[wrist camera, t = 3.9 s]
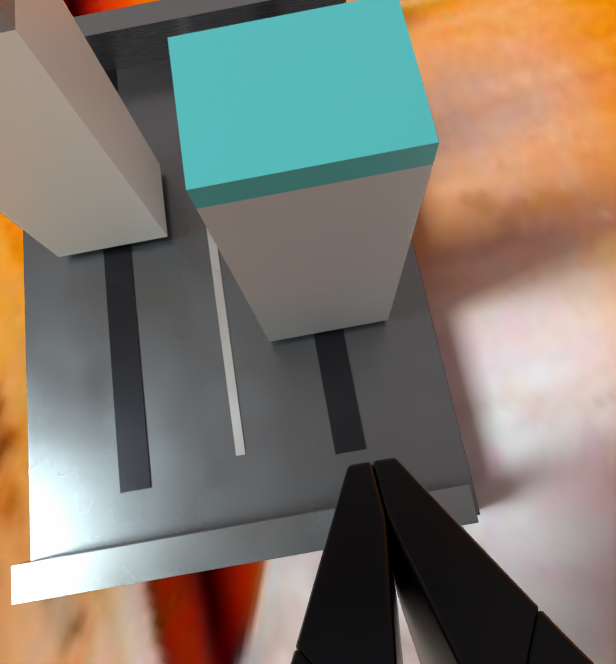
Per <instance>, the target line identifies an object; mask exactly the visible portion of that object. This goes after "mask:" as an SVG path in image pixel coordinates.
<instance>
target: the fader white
mask: <svg viewBox="0 0 616 664" xmlns="http://www.w3.org/2000/svg"><path fill="white" fill-rule="evenodd" d="M0 213H2V214H3V215H4V216H6V217H7V218H8V219H10V220H11V221H12V222H13V223H15V224H16V225H17V226H19V227H20V228H21V229H23V230H24V231H25V232H26V233H28V234H29V235H30V236H32V237H33V238H34V239H36V240H37V241H38V242H40V243H41V244H42V245H43V246H45V247H46V248H47V249H49V250H50V251H51V252H53V253H54V254H55V255H57V256H58V257H62V256H67V255H72V254H78V253H83V252H88V251H94V250H99V249H104V248H110V247H115V246H120V245H126V244H131V243H136V242H142V241H147V240H152V239H158V238H163V237H168V236H167V226H166V217H165V208H164V198H163V189H162V180H161V170H160V164H159V162H158V161H157V159H156V157H155V155H154V154H153V152H152V150H151V149H150V147H149V145H148V144H147V142H146V140H145V138H144V137H143V135H142V133H141V132H140V130H139V128H138V127H137V125H136V123H135V122H134V120H133V118H132V116H131V115H130V113H129V111H128V110H127V108H126V106H125V105H124V103H123V101H122V100H121V98H120V96H119V94H118V93H117V91H116V89H115V88H114V86H113V84H112V83H111V81H110V79H109V77H108V76H107V74H106V72H105V71H104V69H103V67H102V66H101V64H100V62H99V61H98V59H97V57H96V55H95V54H94V52H93V50H92V49H91V47H90V45H89V44H88V42H87V40H86V39H85V37H84V35H83V33H82V32H81V30H80V28H79V27H78V25H77V23H76V22H75V20H74V18H73V16H72V15H71V13H70V11H69V10H68V8H67V6H66V5H65V3H64V1H63V0H0Z"/></svg>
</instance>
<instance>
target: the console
mask: <svg viewBox="0 0 616 664" xmlns="http://www.w3.org/2000/svg"><path fill="white" fill-rule="evenodd" d="M343 3H346V0H159V1H154V2H149V3H144V4H139V5H134V6H129V7H124V8H119V9H113V10H108V11H103V12H98V13H93V14H88V15H83V16H78V17H73V18H74V20H75V22H76V23H77V25H78V27H79V28H80V30H81V32H82V33H83V35H84V37H85V39H86V40H87V42H88V44H89V45H90V47H91V49H92V50H93V52H94V54H95V55H96V57H97V59H98V61H99V62H100V64H101V66H102V67H103V69H104V71H105V72H106V74H107V76H108V77H109V79H110V81H111V83H112V84H113V86H114V88H115V89H116V91H117V93H118V94H119V96H120V98H121V100H122V101H123V103H124V105H125V106H126V108H127V110H128V111H129V113H130V115H131V116H132V118H133V120H134V122H135V123H136V125H137V127H138V128H139V130H140V132H141V133H142V135H143V137H144V138H145V140H146V142H147V144H148V145H149V147H150V149H151V150H152V152H153V154H154V155H155V157H156V159H157V161H158V162H159V164H160V170H161V180H162V189H163V198H164V208H165V217H166V226H167V236H168V237H163V238H158V239H152V240H147V241H142V242H136V243H131V244H126V245H120V246H115V247H110V248H104V249H99V250H94V251H88V252H83V253H78V254H72V255H67V256H62V257H58V256H57V255H55V254H54V253H53V252H51V251H50V250H49V249H47V248H46V247H45V246H43V245H42V244H41V243H40V242H38V241H37V240H36V239H34V238H33V237H32V236H30V235H29V234H28V233H26V232H25V231H24V230H23V245H24V287H25V330H26V373H27V415H28V458H29V501H30V543H31V561H28V562H24V563H20V564H17V565H13V566H11V585H12V605H14V604H19V603H25V602H31V601H36V600H42V599H48V598H53V597H59V596H65V595H70V594H76V593H82V592H87V591H93V590H99V589H104V588H110V587H116V586H121V585H127V584H133V583H138V582H144V581H150V580H155V579H161V578H167V577H172V576H178V575H184V574H189V573H195V572H201V571H206V570H212V569H218V568H223V567H229V566H235V565H240V564H246V563H252V562H257V561H263V560H269V559H274V558H280V557H286V556H291V555H297V554H303V553H308V552H314V551H320V550H324V547H325V543H326V540H327V536H328V533H329V529H330V526H331V522H332V519H333V515H334V512H335V508H336V505H337V501H338V498H339V494H340V491H341V487H342V484H343V481H344V477H345V474H346V470H347V468H348V466H350V465H353V464H359V463H365V462H370V463H371V464H372V466H373V462H374V461H376V460H382V459H388V458H396V459H397V460H399V461H400V462H401V463H402V464H403V465H404V467H405V468H406V469H407V470H408V471H409V472H410V473H411V474H412V475H413V476H414V477H415V478H416V479H417V480H418V481H419V482H420V483H421V484H422V485H423V486H424V488H425V489H426V490H427V491H428V492H429V493H430V494H431V495H432V496H433V497H434V498H435V499H436V500H437V501H438V502H439V503H440V504H441V505H442V506H443V507H444V509H445V510H446V511H447V512H448V513H449V514H450V515H451V516H452V517H453V518H454V519H455V520H456V521H457V522H458V523H459V524H460V525H467V524H472V523H478V518H477V515H479V514H480V512H479V508H478V504H477V500H476V496H475V492H474V488H473V484H472V480H471V476H470V472H469V468H468V464H467V460H466V456H465V452H464V448H463V444H462V440H461V436H460V432H459V428H458V424H457V420H456V416H455V412H454V408H453V404H452V400H451V396H450V392H449V388H448V383H447V379H446V375H445V371H444V367H443V363H442V359H441V355H440V351H439V347H438V343H437V339H436V335H435V331H434V327H433V323H432V319H431V315H430V311H429V307H428V303H427V299H426V295H425V291H424V287H423V283H422V279H421V275H420V271H419V267H418V263H417V259H416V255H415V251H414V247H413V243H412V239H411V242H410V245H409V249H408V252H407V256H406V259H405V263H404V266H403V270H402V273H401V276H400V280H399V283H398V287H397V290H396V294H395V297H394V301H393V304H392V308H391V311H390V315H389V318H388V320H385V321H380V322H374V323H369V324H363V325H358V326H353V327H347V328H342V329H336V330H331V331H325V332H320V333H314V334H309V335H304V336H298V337H293V338H287V339H282V340H276V341H271V342H270V341H269V340H268V338H267V336H266V334H265V332H264V331H263V329H262V327H261V325H260V323H259V322H258V320H257V318H256V316H255V314H254V312H253V311H252V309H251V307H250V305H249V303H248V302H247V300H246V298H245V296H244V294H243V293H242V291H241V289H240V287H239V285H238V283H237V282H236V280H235V278H234V276H233V274H232V273H231V271H230V269H229V267H228V265H227V264H226V262H225V260H224V258H223V256H222V254H221V253H220V251H219V249H218V247H217V245H216V244H215V242H214V240H213V238H212V236H211V234H210V233H209V231H208V229H207V227H206V225H205V224H204V222H203V220H202V218H201V216H200V215H199V213H198V211H197V209H196V207H195V205H194V204H193V202H192V200H191V198H190V196H189V195H188V193H187V191H186V186H185V177H184V169H183V161H182V153H181V144H180V136H179V128H178V120H177V112H176V103H175V95H174V87H173V79H172V70H171V62H170V54H169V46H168V37H173V36H178V35H183V34H188V33H193V32H199V31H204V30H209V29H214V28H219V27H224V26H229V25H235V24H240V23H245V22H250V21H255V20H260V19H265V18H271V17H276V16H281V15H286V14H291V13H296V12H301V11H307V10H312V9H317V8H322V7H327V6H332V5H337V4H343Z"/></svg>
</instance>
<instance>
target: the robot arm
mask: <svg viewBox="0 0 616 664" xmlns="http://www.w3.org/2000/svg"><path fill="white" fill-rule="evenodd" d="M395 586H396V589H395ZM396 590H397V594H398V597H399V601H400V604H401V607H402V610H403V613H404V616H405V619H406V622H407V625H408V628H409V631H410V634H411V637H412V640H413V643H414V646H415V649H416V652H417V655H418V658H419V661H420V664H594V663H593V662H592V661H591V660H590V659H589V658H588V657H587V656H586V655H585V654H584V653H583V652H582V651H581V650H580V649H579V648H578V647H577V646H576V645H575V644H574V643H573V642H572V641H571V640H570V639H569V638H568V637H567V636H566V635H565V634H564V633H563V632H562V631H561V630H560V629H559V628H558V627H557V626H556V625H555V624H554V623H553V621H552V620H551V619H550V618H549V617H548V616H547V615H546V614H545V613H544V612H543V611H538V606H537V605H536V604H535V603H534V602H533V601H532V600H531V599H530V598H529V597H528V596H527V595H526V593H525V592H524V591H523V590H522V589H521V588H520V587H519V586H518V585H517V584H516V583H515V582H514V581H513V580H512V579H511V578H510V577H509V576H508V575H507V574H506V572H505V571H504V570H503V569H502V568H501V567H500V566H499V565H498V564H497V563H496V562H495V561H494V560H493V559H492V558H491V557H490V556H489V555H488V554H487V553H486V552H485V550H484V549H483V548H482V547H481V546H480V545H479V544H478V543H477V542H476V541H475V540H474V539H473V538H472V537H471V536H470V535H469V534H468V533H467V532H466V531H465V529H464V528H463V527H462V526H461V525H460V524H459V523H458V522H457V521H456V520H455V519H454V518H453V517H452V516H451V515H450V514H449V513H448V512H447V511H446V510H445V509H444V507H443V506H442V505H441V504H440V503H439V502H438V501H437V500H436V499H435V498H434V497H433V496H432V495H431V494H430V493H429V492H428V491H427V490H426V489H425V488H424V486H423V485H422V484H421V483H420V482H419V481H418V480H417V479H416V478H415V477H414V476H413V475H412V474H411V473H410V472H409V471H408V470H407V469H406V468H405V467H404V465H403V464H402V463H401V462H400V461H399V460H397V459H396V458H388V459H382V460H376V461H374V462H373V466H372V464H371V463H370V462H365V463H359V464H353V465H350V466H348V468H347V470H346V474H345V477H344V481H343V484H342V487H341V491H340V494H339V498H338V501H337V505H336V508H335V512H334V515H333V519H332V522H331V526H330V529H329V533H328V536H327V540H326V543H325V547H324V550H323V554H322V557H321V561H320V564H319V568H318V571H317V575H316V578H315V582H314V585H313V589H312V592H311V596H310V599H309V602H308V606H307V609H306V613H305V616H304V620H303V623H302V627H301V630H300V634H299V637H298V641H297V644H296V648H297V650H296V651H295V652H294V654H293V657H292V661H291V664H403V658H402V647H401V637H400V626H399V615H398V605H397V597H396Z"/></svg>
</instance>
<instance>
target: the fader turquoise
mask: <svg viewBox="0 0 616 664" xmlns="http://www.w3.org/2000/svg"><path fill="white" fill-rule="evenodd" d="M168 46H169V54H170V62H171V70H172V79H173V87H174V95H175V103H176V112H177V120H178V128H179V136H180V144H181V153H182V161H183V169H184V177H185V186H186V191H187V193H188V195H189V196H190V198H191V200H192V202H193V204H194V205H195V207H196V209H197V211H198V213H199V215H200V216H201V218H202V220H203V222H204V224H205V225H206V227H207V229H208V231H209V233H210V234H211V236H212V238H213V240H214V242H215V244H216V245H217V247H218V249H219V251H220V253H221V254H222V256H223V258H224V260H225V262H226V264H227V265H228V267H229V269H230V271H231V273H232V274H233V276H234V278H235V280H236V282H237V283H238V285H239V287H240V289H241V291H242V293H243V294H244V296H245V298H246V300H247V302H248V303H249V305H250V307H251V309H252V311H253V312H254V314H255V316H256V318H257V320H258V322H259V323H260V325H261V327H262V329H263V331H264V332H265V334H266V336H267V338H268V340H269V341H270V342H271V341H276V340H282V339H287V338H293V337H298V336H304V335H309V334H314V333H320V332H325V331H331V330H336V329H342V328H347V327H353V326H358V325H363V324H369V323H374V322H380V321H385V320H388V318H389V315H390V311H391V308H392V304H393V301H394V297H395V294H396V290H397V287H398V283H399V280H400V276H401V273H402V270H403V266H404V263H405V259H406V256H407V252H408V249H409V245H410V242H411V238H412V235H413V231H414V228H415V224H416V221H417V217H418V214H419V210H420V207H421V204H422V200H423V197H424V193H425V190H426V186H427V183H428V179H429V176H430V172H431V169H432V165H433V162H434V158H435V155H436V151H437V148H438V144H439V140H438V136H437V133H436V129H435V126H434V122H433V118H432V115H431V111H430V108H429V104H428V101H427V97H426V94H425V90H424V86H423V83H422V79H421V76H420V72H419V69H418V65H417V61H416V58H415V54H414V51H413V47H412V44H411V40H410V36H409V33H408V29H407V26H406V22H405V19H404V15H403V12H402V8H401V4H400V1H399V0H358V1H353V2H348V3H343V4H337V5H332V6H327V7H322V8H317V9H312V10H307V11H301V12H296V13H291V14H286V15H281V16H276V17H271V18H265V19H260V20H255V21H250V22H245V23H240V24H235V25H229V26H224V27H219V28H214V29H209V30H204V31H199V32H193V33H188V34H183V35H178V36H173V37H168Z"/></svg>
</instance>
